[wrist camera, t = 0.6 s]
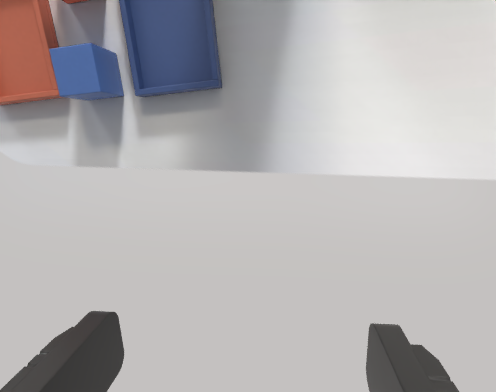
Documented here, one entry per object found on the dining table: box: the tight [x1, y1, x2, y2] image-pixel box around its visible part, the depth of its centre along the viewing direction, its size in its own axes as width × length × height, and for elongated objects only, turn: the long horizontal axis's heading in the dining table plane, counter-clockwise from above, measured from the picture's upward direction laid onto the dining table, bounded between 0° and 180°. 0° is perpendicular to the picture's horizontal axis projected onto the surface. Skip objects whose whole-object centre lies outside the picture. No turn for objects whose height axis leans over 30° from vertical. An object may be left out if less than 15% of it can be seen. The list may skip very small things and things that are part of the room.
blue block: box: [49, 43, 124, 100], centre depth 31 cm, size 4×4×4 cm
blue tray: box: [119, 0, 222, 97], centre depth 30 cm, size 13×9×2 cm
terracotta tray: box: [0, 0, 63, 105], centre depth 32 cm, size 13×9×2 cm
